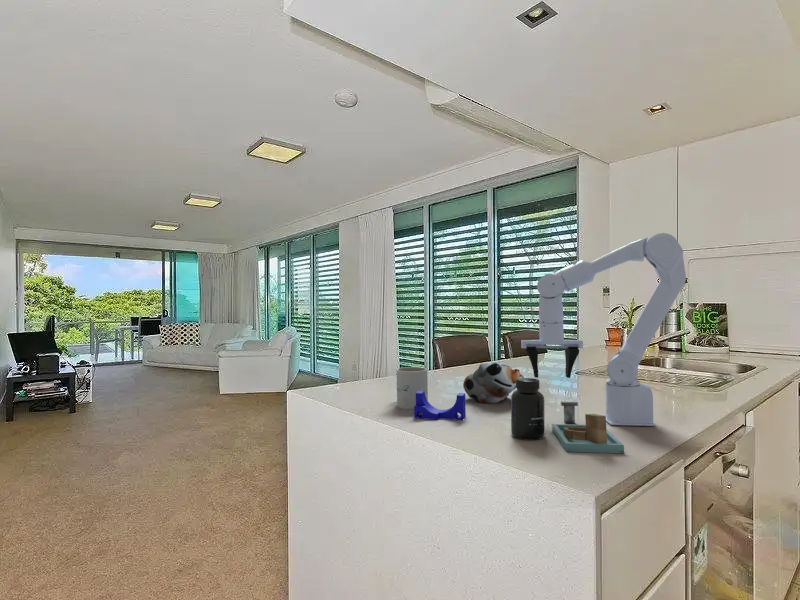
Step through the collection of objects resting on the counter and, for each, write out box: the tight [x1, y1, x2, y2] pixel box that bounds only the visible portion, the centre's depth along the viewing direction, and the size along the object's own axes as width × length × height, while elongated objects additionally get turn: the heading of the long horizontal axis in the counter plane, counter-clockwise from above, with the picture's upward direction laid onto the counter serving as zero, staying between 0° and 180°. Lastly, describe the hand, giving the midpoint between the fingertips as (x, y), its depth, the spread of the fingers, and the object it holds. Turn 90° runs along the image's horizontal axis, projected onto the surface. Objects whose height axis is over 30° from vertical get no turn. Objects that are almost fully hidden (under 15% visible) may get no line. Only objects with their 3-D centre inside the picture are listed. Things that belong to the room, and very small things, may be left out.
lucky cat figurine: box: [463, 361, 525, 404], centre depth 129 cm, size 15×12×14 cm
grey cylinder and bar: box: [560, 401, 579, 425], centre depth 105 cm, size 4×2×5 cm, turn 82°
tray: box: [551, 423, 625, 454], centre depth 91 cm, size 10×14×2 cm
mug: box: [396, 366, 429, 410], centre depth 126 cm, size 12×9×10 cm
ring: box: [563, 413, 607, 443], centre depth 89 cm, size 9×6×5 cm, turn 20°
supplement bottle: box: [510, 377, 546, 441], centre depth 95 cm, size 7×7×12 cm
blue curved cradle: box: [413, 391, 467, 421], centre depth 111 cm, size 12×4×6 cm, turn 71°
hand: (552, 377), depth 112 cm, fingers open, 7 cm apart
